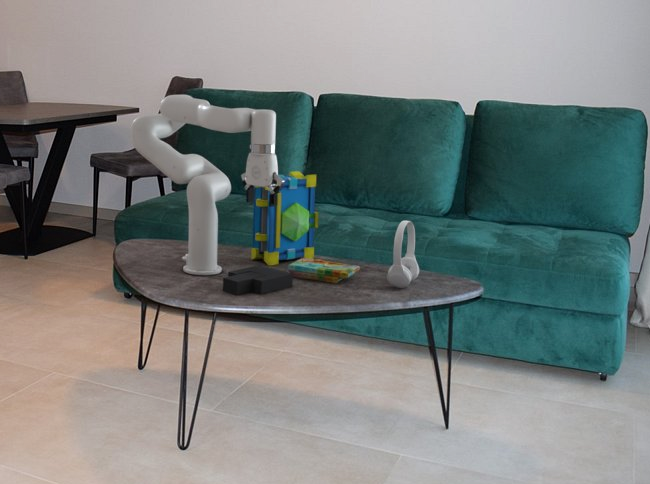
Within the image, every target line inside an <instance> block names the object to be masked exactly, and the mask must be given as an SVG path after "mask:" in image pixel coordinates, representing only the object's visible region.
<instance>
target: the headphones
mask: <svg viewBox="0 0 650 484" xmlns="http://www.w3.org/2000/svg"><path fill="white" fill-rule="evenodd" d="M405 229H406V230H407V246H406V253H405V254H404V256H403V257H402V247H403V240H404V239H403V238H404V233H405ZM415 248H416V230H415V226H414V223H413V222H412V221H411V220H402V221H401V222H400V223H399V224H398V226H397V229H396V231H395V236H394V241H393V253H392V254H393V255H392V257H393V258H392V259H393V262H392V264H391V266H390V267H389V268H388V270H387V274H386V280H387V281H388V283H389V284H390V285H391V286H393V287H395V288H398V289H404V288H407V287H408V286H409V285H410V283H411V282H413V281H414V280H416V279H417V278H418V276H419V275H420V267H419V264H418V261H417V260H416V255H415Z"/></svg>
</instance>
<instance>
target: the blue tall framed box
mask: <svg viewBox="0 0 650 484" xmlns="http://www.w3.org/2000/svg"><path fill="white" fill-rule="evenodd" d="M278 176H280V177H281V178H282V179H283V180H284V184H283V186H282V189H281V190H280V192H279V193H278V202H277V206H274V207H270V206H269V194H271V192H270V190H269V188H268V187H259V186H255V187H254V188H253V189H255V201H254V202H253V208H252V209H253V211H252V212H253V213H252V224H253V225H252V247H251V254H250V255H251V257H250V260H251V261H253V260H262V259H263V262H265V263H266V264H267V267H269V266H276V265H279V263H280V262H279V261H282V260H285V261H288V260H294V259H296V258H308V259H314V258H315V246H314V242H315V241H314V240H315V239H314V238H315V237H314V236H315V235H314V234H315V232H314V231H315V228H316V229H319V213H320V212H319V211H315V205H316V204H315V203H316V187H317V174H306V175H305V176H304V174H303V173H302V172H300V170H298V171H297V170H295V171H289V175H284V174H278ZM277 184H278V183H277ZM273 189H274V188H273Z"/></svg>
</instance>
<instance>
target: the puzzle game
mask: <svg viewBox="0 0 650 484" xmlns="http://www.w3.org/2000/svg"><path fill="white" fill-rule="evenodd" d="M360 268H361V267H360V266H359V265H354V264H347V263H340V262H334V261H327V260H324V259H322V258H317V259H316V258H315V259H308V258H302V257H300V258H299V259H297V260H295V261H293V262H291V263H289V264H288V265H287V272H288V273H292V274H293V278H298V279H304V280H305V279H307V280H312V281H320V282H325V283H333V284H338V283H339V282H341V281H342V280H343V279H348V278H350V277H352V276H353V275H354V274H356V273H358V272H359V271H360Z"/></svg>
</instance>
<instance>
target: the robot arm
mask: <svg viewBox="0 0 650 484" xmlns="http://www.w3.org/2000/svg"><path fill="white" fill-rule="evenodd" d="M159 112H160V113H150V114H143V115H140V116H137V117H136V118H135V119H133V121H132V122H131V125H130V127H129V134H130V140H131V143H132V145H133V147H134V149H135V150H136V151H137V153H138V154H140V155H141V156H142V157H143V158H144V159H145V160H147V161H148V162H150V164H152V165H153V166H154V167H156V168H157V169H158V170H159V171H160V172H161V173H162V174H164V175H165V176H166V177H167V178H168V179H170V180H171V181H172V182H173V183H175V184H178V185H187V186H186V199H187V208H188V241H187V243H188V247H187V248H188V249H187V253H186V254H184V256H182V257H181V260H182V261H183V262H185V265H184V266H183V268H182V271H183V272H184V273H186V274H190V275H194V276H214V275H218V274H220V273H221V272H223V268H222V266H220V265H218V243H219V242H218V240H219V237H218V236H219V235H218V234H219V217H218V216H219V213H218V209H217V206H216V202H220V201H223V200H225V199H226V198H228V197H229V196H230V194H231V192H232V184H231V181H230V179H229V177H228V176H227V175H226V174H225V173H224V172H222V170H220V169H219V168H218V167H217V166H216V165H214V164H213V163H212V162H210V161H209V160H208V159H206V158H205V157H204V156H202V155H200V154H196V153H188V154H183V153H180V152H179V151H177V150H176V149H175V148H173V146H172V145H170V144H168V143H167V142H165V141H163V140H162V139H166V138H169V137H170V136H172V135H173V134H174V133H176V132H177V131H178V130H180V129H181V128H182V127H184V126H185V125H186V124H188V125H194V126H197V127H201V128H205V129H207V130H212V131H216V132H222V133H229V134H235V133H246V132H250V144H249V149H250V152H249V153H248V155H247V159H246V165H245V171H244V172H243V173H242V174H240V177H241V180H242V184H243V186H244V189H245V191H246V192H245V193H246V194H245V202H246V203H254V201H255V189H254V187H255V186H259V187H268V188H269V190H270V192H271V194H269V206H270V207H274V206H277V202H278V193H279V192H280V190H281V189H282V186H283V184H284V180H283V179H282V178H281V177H280V176H278V175H279V167H278V157H277V154H276V135H277V134H276V133H277V132H276V131H277V113H276V111H274V110H273V109H256V108H251V107H250V108H249V107H236V108H229V107H223V106H216V105H212V104H210V102H209V101H208V100H206V99H200V98H195V97H193V96H192V95H189V94H170V95H167V96H165V97H164V98H163V99H162V100H161V101H160V104H159ZM277 183H278V184H277ZM273 188H274V189H273Z"/></svg>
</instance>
